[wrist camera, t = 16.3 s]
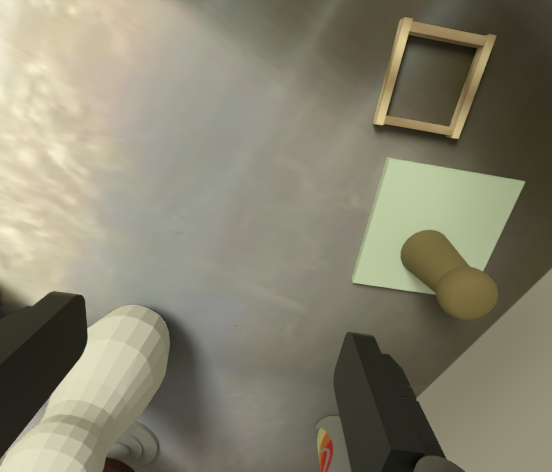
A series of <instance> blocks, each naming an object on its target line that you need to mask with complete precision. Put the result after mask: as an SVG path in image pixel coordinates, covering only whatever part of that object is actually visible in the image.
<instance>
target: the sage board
mask: <svg viewBox="0 0 552 472" xmlns="http://www.w3.org/2000/svg"><path fill="white" fill-rule="evenodd" d="M524 184H525V182H524V181H521V180H516V179H510V178H504V177H499V176H493V175H487V174H481V173H475V172H470V171H464V170H458V169H452V168H446V167H440V166H435V165H429V164H423V163H417V162H411V161H406V160H400V159H394V158H388V157H387V158H386V162H385V165H384V169H383V172H382V175H381V179H380V182H379V186H378V189H377V193H376V196H375V199H374V203H373V206H372V210H371V213H370V216H369V220H368V223H367V227H366V230H365V234H364V237H363V240H362V244H361V247H360V251H359V254H358V258H357V261H356V264H355V268H354V271H353V275H352V278H351V279H352V282H353V283H358V284H365V285H372V286H379V287H386V288H392V289H399V290H406V291H413V292H420V293H427V294H434V295H436V294H435V292H434V291H432V290H431V289H430V288H429V287H428V286H426V285H425V284H424V283H423V282H422V281H420V280H419V279H418V278H417V277H416V276H414V275H413V274H412V273H411V272H410V271H408V270H407V269H406V268H405V267H404V265H403V264H402V261H401V259H400V256H401V249H402V246H403V244H404V243H405V242H406V240H407V239H408V238H409V237H411V236H412V235H413V234H415V233H417V232H420V231H423V230H435V231H438V232H440V233H442V234H444V235H445V236H446V238H447V239H448V240H449V241H450V243H451V244H452V245H453V246H454V248H455V249H456V250H457V251H458V252H459V254H460V255H461V256H462V257H463V259H464V260H465V261H466V262H467V264H468V265H469V266H470V267H473V268H477V269H479V270H481V271H484V269H485V267H486V264H487V262H488V260H489V258H490V256H491V254H492V252H493V250H494V247H495V245H496V243H497V241H498V239H499V237H500V235H501V233H502V230H503V228H504V226H505V224H506V222H507V220H508V218H509V216H510V213H511V211H512V209H513V207H514V205H515V203H516V201H517V199H518V196H519V194H520V192H521V190H522V188H523V186H524Z"/></svg>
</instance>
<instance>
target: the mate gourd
mask: <svg viewBox="0 0 552 472" xmlns="http://www.w3.org/2000/svg"><path fill="white" fill-rule="evenodd" d="M157 451H158V441H157V438H156V436H155V435H154V433H153V432H152V431H151V430H150V429H149V428H147V427H146V426H144V425H143V424H141V423H139V422H137V421H135V422H134V423H133V424H132V425H131V426H130V427H129V428H128V429H127V430H126V431H125V432H124V433H123V434H122V435H121V436H120V437H119V438H118V439H117V440H116V441H115V442H114V443H113V444H112V446H111V447H110V449H109V451H108V453H107V455H106V459H105V464H104V469H103V471H102V472H135V471H134V470H133V469H136V468H140V467H143V466H146V465H147V464H149V463H150V462H151V461H153V459H154V458H155V456H156V454H157Z"/></svg>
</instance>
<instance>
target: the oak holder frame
mask: <svg viewBox="0 0 552 472" xmlns="http://www.w3.org/2000/svg"><path fill="white" fill-rule="evenodd" d="M412 20H413V19H411V18H406V17H404V18H403V19H401V20H400V22H399V26H398V29H397V33H396V37H395V41H394V44H393V48H392V52H391V56H390V60H389V63H388V67H387V71H386V75H385V78H384V82H383V86H382V90H381V94H380V97H379V101H378V105H377V109H376V112H375V116H374V120H373V124H377V125H383V124H388V125H393V126H399V127H405V128H410V129H416V130H421V131H427V132H433V133H438V134H444V135H446V137H450V138H456V139H459V136H460V134H461V131H462V128H463V126H464V123H465V120H466V117H467V115H468V112H469V109H470V107H471V104H472V101H473V99H474V96H475V93H476V90H477V88H478V85H479V82H480V80H481V77H482V74H483V71H484V69H485V66H486V63H487V61H488V58H489V55H490V53H491V50H492V47H493V44H494V42H495V39H496V35H491V34H488V35H485V36H483V35H478V34H473V33H468V32H463V31H458V30H453V29H448V28H443V27H438V26H433V25H428V24H423V23H418V22H413V21H412ZM408 35H412V36H417V37H422V38H427V39H432V40H437V41H442V42H447V43H452V44H457V45H462V46H467V47H472V48H477V50H476V53H475V56H474V58H473V61H472V64H471V67H470V70H469V73H468V75H467V78H466V81H465V84H464V87H463V89H462V92H461V95H460V98H459V101H458V104H457V106H456V109H455V112H454V115H453V118H452V121H451V123H450V126H449V127H447V126H442V125H436V124H431V123H425V122H419V121H414V120H408V119H403V118H397V117H392V116H386V113H387V110H388V106H389V102H390V99H391V95H392V92H393V88H394V84H395V81H396V77H397V74H398V70H399V66H400V63H401V59H402V56H403V52H404V48H405V45H406V41H407V38H408Z"/></svg>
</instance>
